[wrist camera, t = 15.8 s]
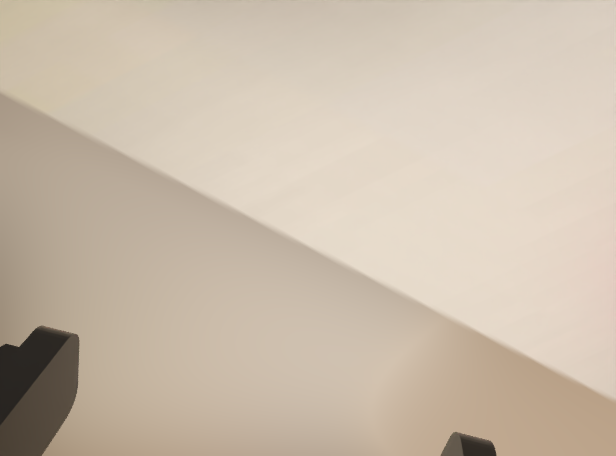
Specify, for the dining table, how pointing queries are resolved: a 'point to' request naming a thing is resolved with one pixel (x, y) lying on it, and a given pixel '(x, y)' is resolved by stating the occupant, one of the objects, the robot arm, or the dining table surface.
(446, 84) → the dining table surface
